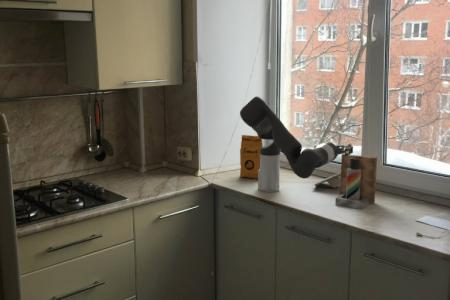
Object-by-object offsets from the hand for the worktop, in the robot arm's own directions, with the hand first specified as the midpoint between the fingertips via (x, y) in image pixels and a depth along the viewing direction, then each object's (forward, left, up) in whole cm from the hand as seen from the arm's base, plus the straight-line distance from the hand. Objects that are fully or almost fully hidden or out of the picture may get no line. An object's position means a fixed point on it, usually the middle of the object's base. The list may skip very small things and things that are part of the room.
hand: (340, 145), depth 212 cm
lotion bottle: (+2, +14, -28) cm, 31 cm away
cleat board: (+2, +14, -27) cm, 31 cm away
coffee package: (-58, +32, -28) cm, 72 cm away
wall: (-17, +33, -28) cm, 47 cm away
